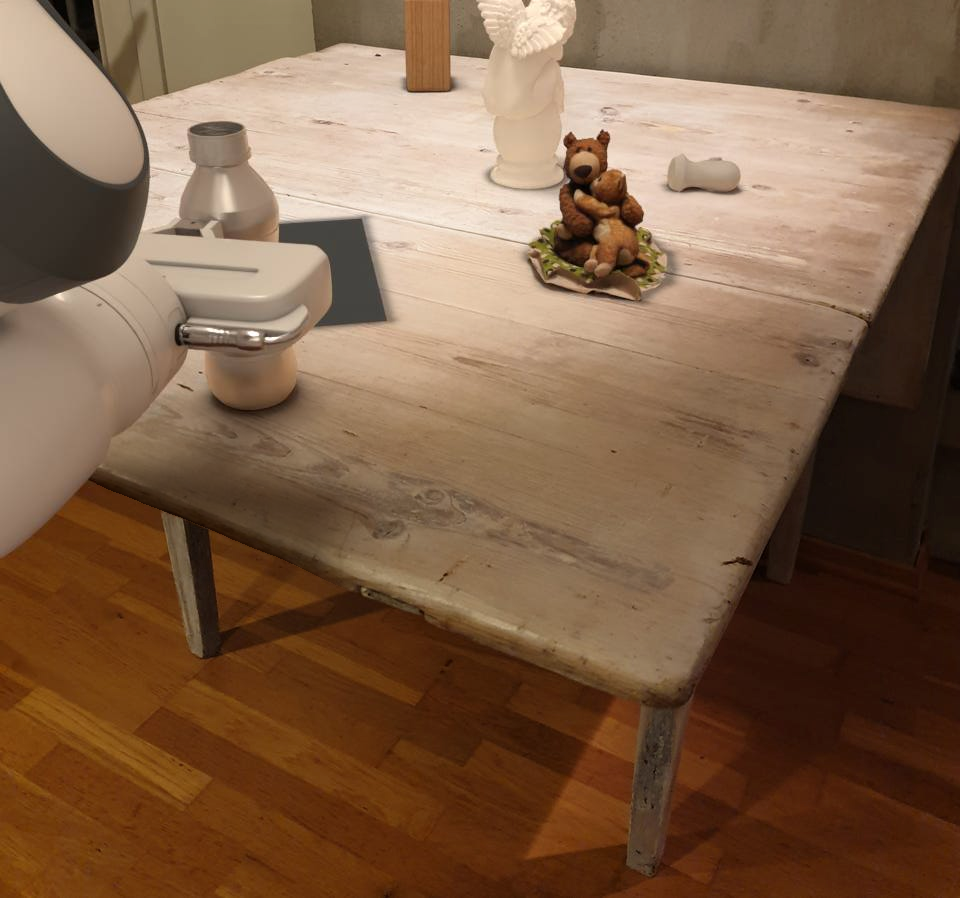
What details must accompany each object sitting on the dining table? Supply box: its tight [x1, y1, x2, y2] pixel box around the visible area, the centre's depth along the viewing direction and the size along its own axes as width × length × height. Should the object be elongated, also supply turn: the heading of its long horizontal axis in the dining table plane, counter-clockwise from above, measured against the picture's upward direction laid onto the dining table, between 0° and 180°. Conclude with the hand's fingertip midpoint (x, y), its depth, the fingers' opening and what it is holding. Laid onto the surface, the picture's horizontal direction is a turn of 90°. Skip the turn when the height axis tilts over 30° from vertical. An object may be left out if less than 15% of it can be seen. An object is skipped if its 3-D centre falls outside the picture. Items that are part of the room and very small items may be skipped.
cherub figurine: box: [475, 0, 577, 190], centre depth 105 cm, size 12×12×22 cm
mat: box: [278, 218, 388, 328], centre depth 91 cm, size 18×24×1 cm
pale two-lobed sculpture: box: [666, 153, 742, 193], centre depth 109 cm, size 4×8×5 cm
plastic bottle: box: [178, 120, 298, 411], centre depth 67 cm, size 6×7×20 cm
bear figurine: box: [526, 128, 669, 302], centre depth 89 cm, size 14×15×12 cm
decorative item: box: [402, 0, 452, 93], centre depth 142 cm, size 7×7×20 cm
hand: (201, 230), depth 61 cm, fingers closed
